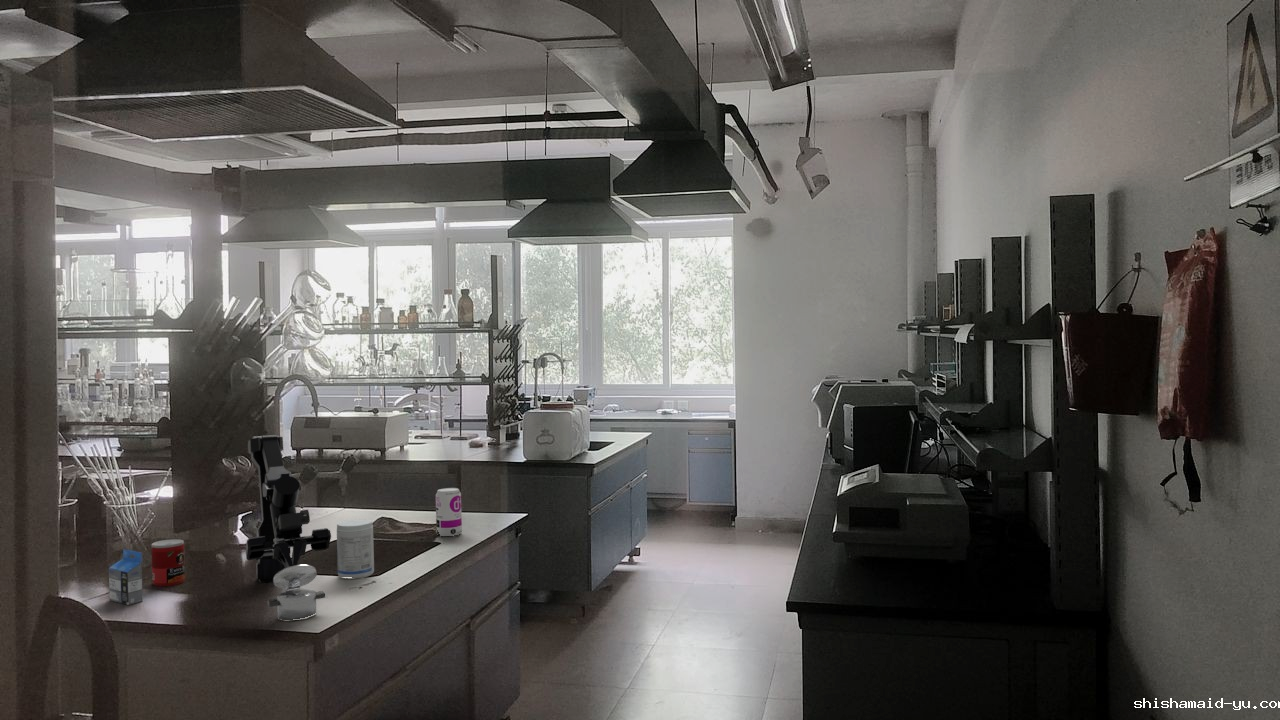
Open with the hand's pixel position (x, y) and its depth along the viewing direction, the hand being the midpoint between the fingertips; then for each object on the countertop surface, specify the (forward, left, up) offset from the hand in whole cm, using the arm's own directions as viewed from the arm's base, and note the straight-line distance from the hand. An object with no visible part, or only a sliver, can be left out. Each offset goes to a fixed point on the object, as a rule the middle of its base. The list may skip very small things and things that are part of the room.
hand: (293, 573), depth 200 cm
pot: (0, +3, -9) cm, 10 cm away
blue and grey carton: (+34, -36, -9) cm, 50 cm away
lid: (0, +2, -1) cm, 2 cm away
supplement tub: (-20, -26, -9) cm, 34 cm away
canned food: (+24, -49, -9) cm, 55 cm away
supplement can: (-58, -60, -9) cm, 84 cm away
